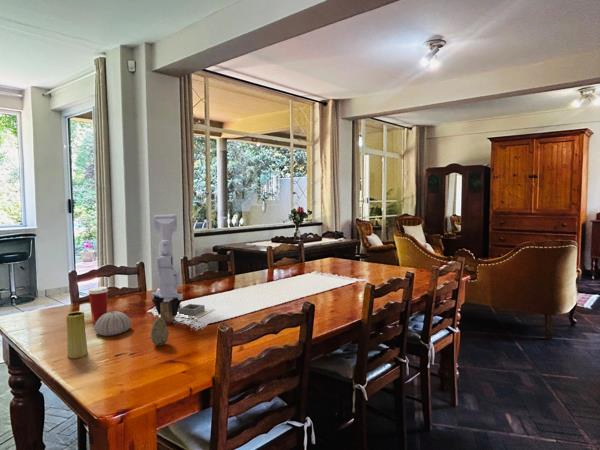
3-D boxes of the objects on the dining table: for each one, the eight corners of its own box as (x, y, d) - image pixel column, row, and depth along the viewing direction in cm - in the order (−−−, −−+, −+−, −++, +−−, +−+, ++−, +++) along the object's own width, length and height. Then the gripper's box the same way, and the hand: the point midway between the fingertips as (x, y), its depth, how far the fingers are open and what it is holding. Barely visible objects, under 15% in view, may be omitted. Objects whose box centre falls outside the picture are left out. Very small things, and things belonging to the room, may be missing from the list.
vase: (72, 351, 141) (70, 311, 139) (91, 351, 141) (88, 310, 140) (63, 359, 135) (61, 316, 133) (83, 358, 135) (80, 316, 134)
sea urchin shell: (96, 340, 151) (95, 319, 151) (92, 330, 163) (91, 310, 162) (134, 333, 158) (133, 313, 158) (128, 324, 170) (127, 305, 169)
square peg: (160, 321, 172) (160, 302, 172) (166, 318, 176) (166, 300, 175) (168, 322, 171) (168, 303, 170) (174, 319, 175) (174, 301, 174)
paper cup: (113, 318, 177) (112, 287, 175) (99, 324, 169) (97, 291, 168) (99, 317, 179) (97, 285, 178) (85, 322, 172) (83, 289, 171)
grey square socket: (169, 317, 179) (169, 310, 179) (188, 308, 192) (188, 301, 192) (196, 320, 175) (196, 312, 174) (214, 311, 188) (213, 303, 187)
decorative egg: (152, 349, 142) (150, 321, 141) (150, 343, 148) (149, 316, 147) (169, 346, 144) (168, 319, 144) (168, 340, 150) (167, 314, 149)
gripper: (145, 284, 171) (147, 316, 172) (174, 286, 166) (176, 319, 167) (156, 280, 177) (158, 311, 179) (185, 282, 173) (186, 314, 174)
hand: (167, 314), depth 173 cm, fingers open, 7 cm apart
